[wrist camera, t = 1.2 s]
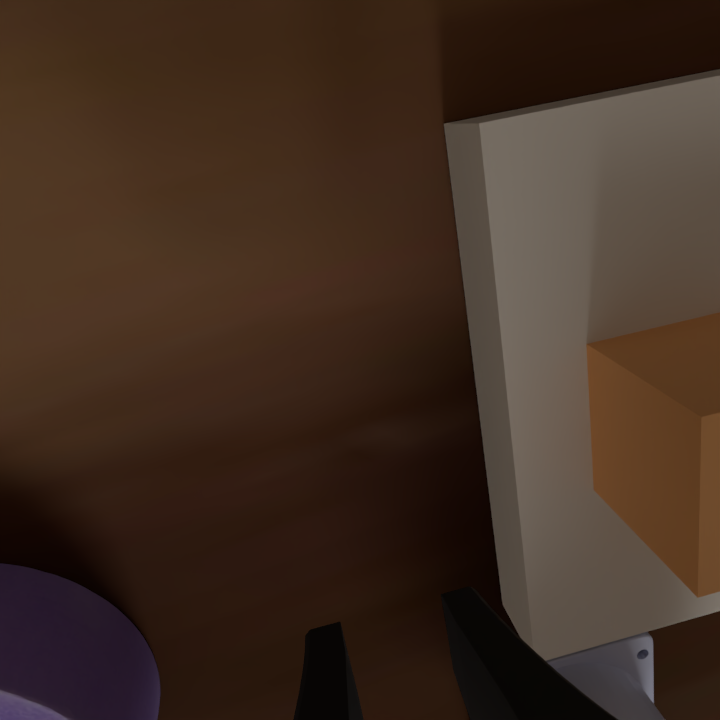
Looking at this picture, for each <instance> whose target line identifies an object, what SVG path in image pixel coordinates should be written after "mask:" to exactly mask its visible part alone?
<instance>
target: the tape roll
mask: <svg viewBox="0 0 720 720" xmlns="http://www.w3.org/2000/svg"><path fill="white" fill-rule="evenodd" d="M159 703H160V681H159V674H158V669H157V665H156V662H155V659H154V656H153V654H152V652H151V650H150V648H149V646H148V644H147V642H146V641H145V639H144V637H143V636H142V634H141V633H140V632H139V630H138V629H137V628H136V627H135V626H134V624H133V623H132V622H131V621H130V620H129V619H128V618H127V617H126V616H125V615H124V614H123V613H122V612H121V611H119V610H118V609H117V608H116V607H115V606H113V605H112V604H111V603H109V602H108V601H107V600H105V599H104V598H102V597H101V596H99V595H97V594H95V593H94V592H92V591H90V590H88V589H87V588H85V587H83V586H81V585H79V584H77V583H75V582H73V581H71V580H68V579H65V578H62V577H60V576H57V575H54V574H51V573H47V572H43V571H40V570H36V569H33V568H28V567H24V566H18V565H11V564H2V563H0V720H157V717H158V711H159Z"/></svg>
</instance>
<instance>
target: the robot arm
mask: <svg viewBox="0 0 720 720" xmlns="http://www.w3.org/2000/svg"><path fill="white" fill-rule="evenodd" d="M441 598H442V604H443V610H444V616H445V622H446V628H447V634H448V640H449V646H450V652H451V658H452V664H453V670H454V673H455V676H456V679H457V682H458V685H459V688H460V691H461V694H462V697H463V700H464V702H465V705H466V708H467V711H468V714H469V717H470V720H665V719H664V718H663V716H662V715H661V714H660V712H659V711H658V709H657V708H656V707H655V705H654V673H653V639H652V637H651V636H650V635H649V633H648V632H644V633H641V634H637V635H634V636H630V637H627V638H623V639H620V640H616V641H613V642H609V643H606V644H602V645H599V646H595V647H592V648H588V649H585V650H581V651H578V652H574V653H571V654H567V655H564V656H560V657H557V658H553V659H550V660H546V661H545V660H544V659H543V658H542V657H541V656H539V655H538V654H537V653H536V652H535V651H534V650H533V649H532V648H531V647H530V646H529V645H528V644H527V643H525V642H524V641H523V640H522V639H521V638H520V637H519V636H518V635H517V634H516V633H515V632H514V631H513V630H512V629H511V628H510V627H509V626H508V625H507V624H506V623H505V622H504V621H503V620H502V619H501V617H500V616H499V615H498V614H497V613H496V612H495V611H494V610H493V609H492V608H491V607H490V606H489V604H488V603H487V602H486V601H485V600H484V599H483V598H482V596H481V595H480V594H479V593H478V592H477V590H476V589H474V588H472V587H466V588H462V589H458V590H455V591H451V592H447V593H444V594H441ZM294 720H363V716H362V711H361V706H360V701H359V697H358V693H357V689H356V685H355V680H354V676H353V672H352V668H351V664H350V660H349V656H348V652H347V648H346V644H345V640H344V636H343V631H342V627H341V623H340V622H337V623H333V624H330V625H326V626H322V627H319V628H315V629H311V630H309V632H308V633H307V634H306V636H305V656H304V665H303V673H302V679H301V685H300V691H299V696H298V701H297V706H296V710H295V715H294Z"/></svg>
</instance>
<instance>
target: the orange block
mask: <svg viewBox="0 0 720 720" xmlns="http://www.w3.org/2000/svg"><path fill="white" fill-rule="evenodd" d="M586 347H587V367H588V386H589V406H590V426H591V445H592V465H593V485H594V491H595V492H596V493H597V494H598V495H599V496H600V497H601V498H602V499H603V500H604V501H605V502H606V503H607V504H608V505H609V506H610V507H611V508H612V509H613V511H614V512H615V513H616V514H617V515H618V516H619V517H620V518H621V519H622V520H623V521H624V522H625V523H626V524H627V525H628V526H629V527H630V528H631V529H632V530H633V531H634V532H635V533H636V534H637V535H638V536H639V537H640V539H641V540H642V541H643V542H644V543H645V544H646V545H647V546H648V547H649V548H650V549H651V550H652V551H653V552H654V553H655V554H656V555H657V556H658V557H659V558H660V559H661V560H662V561H663V562H664V563H665V564H666V565H667V566H668V568H669V569H670V570H671V571H672V572H673V573H674V574H675V575H676V576H677V577H678V578H679V579H680V580H681V581H682V582H683V583H684V584H685V585H686V586H687V587H688V588H689V589H690V590H691V591H692V592H693V593H694V594H695V596H696V597H697V598H699V597H702V596H706V595H709V594H713V593H716V592H720V312H719V313H715V314H710V315H706V316H702V317H698V318H694V319H689V320H685V321H681V322H677V323H673V324H668V325H664V326H660V327H656V328H652V329H647V330H643V331H639V332H635V333H631V334H626V335H622V336H618V337H614V338H610V339H605V340H601V341H597V342H593V343H589V344H586Z"/></svg>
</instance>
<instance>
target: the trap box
mask: <svg viewBox="0 0 720 720" xmlns="http://www.w3.org/2000/svg"><path fill="white" fill-rule="evenodd" d="M444 129H445V137H446V146H447V154H448V162H449V170H450V178H451V187H452V195H453V203H454V211H455V219H456V228H457V236H458V244H459V252H460V260H461V269H462V277H463V285H464V293H465V301H466V309H467V318H468V326H469V334H470V342H471V350H472V359H473V367H474V375H475V383H476V391H477V400H478V408H479V416H480V424H481V432H482V440H483V449H484V457H485V465H486V473H487V481H488V490H489V498H490V506H491V514H492V522H493V531H494V539H495V547H496V555H497V563H498V572H499V580H500V588H501V596H502V604H503V606H504V608H505V610H506V612H507V614H508V616H509V617H510V619H511V621H512V623H513V625H514V627H515V628H516V630H517V632H518V634H519V636H520V638H521V639H522V640H523V641H524V642H525V643H527V644H528V645H529V646H530V647H531V648H532V649H533V650H534V651H535V652H536V653H537V654H538V655H539V656H541V657H542V658H543V659H544V660H545V661H546V660H550V659H553V658H557V657H560V656H564V655H567V654H571V653H574V652H578V651H581V650H585V649H588V648H592V647H595V646H599V645H602V644H606V643H609V642H613V641H616V640H620V639H623V638H627V637H630V636H634V635H637V634H641V633H644V632H648V631H651V630H655V629H658V628H662V627H665V626H669V625H672V624H676V623H679V622H683V621H686V620H690V619H693V618H696V617H700V616H703V615H707V614H710V613H714V612H717V611H720V592H716V593H713V594H709V595H706V596H702V597H699V598H697V597H696V596H695V594H694V593H693V592H692V591H691V590H690V589H689V588H688V587H687V586H686V585H685V584H684V583H683V582H682V581H681V580H680V579H679V578H678V577H677V576H676V575H675V574H674V573H673V572H672V571H671V570H670V569H669V568H668V566H667V565H666V564H665V563H664V562H663V561H662V560H661V559H660V558H659V557H658V556H657V555H656V554H655V553H654V552H653V551H652V550H651V549H650V548H649V547H648V546H647V545H646V544H645V543H644V542H643V541H642V540H641V539H640V537H639V536H638V535H637V534H636V533H635V532H634V531H633V530H632V529H631V528H630V527H629V526H628V525H627V524H626V523H625V522H624V521H623V520H622V519H621V518H620V517H619V516H618V515H617V514H616V513H615V512H614V511H613V509H612V508H611V507H610V506H609V505H608V504H607V503H606V502H605V501H604V500H603V499H602V498H601V497H600V496H599V495H598V494H597V493H596V492H595V491H594V485H593V465H592V445H591V426H590V406H589V386H588V367H587V347H586V344H589V343H593V342H597V341H601V340H605V339H610V338H614V337H618V336H622V335H626V334H631V333H635V332H639V331H643V330H647V329H652V328H656V327H660V326H664V325H668V324H673V323H677V322H681V321H685V320H689V319H694V318H698V317H702V316H706V315H710V314H715V313H719V312H720V69H717V70H712V71H707V72H702V73H697V74H692V75H687V76H682V77H677V78H672V79H667V80H662V81H657V82H652V83H647V84H642V85H637V86H632V87H627V88H622V89H616V90H611V91H606V92H601V93H596V94H591V95H586V96H581V97H576V98H571V99H566V100H561V101H556V102H551V103H546V104H541V105H536V106H531V107H526V108H521V109H516V110H511V111H505V112H500V113H495V114H490V115H485V116H480V117H475V118H470V119H465V120H460V121H455V122H450V123H445V124H444Z"/></svg>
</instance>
